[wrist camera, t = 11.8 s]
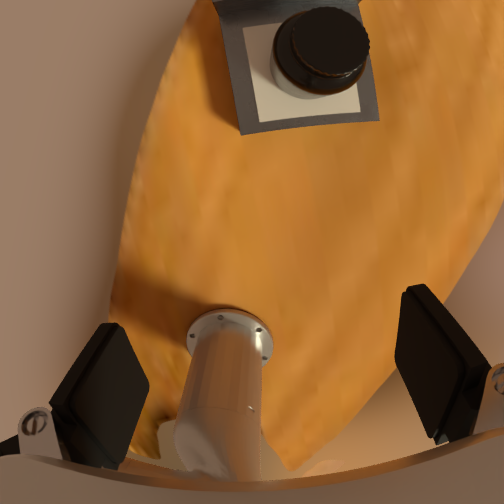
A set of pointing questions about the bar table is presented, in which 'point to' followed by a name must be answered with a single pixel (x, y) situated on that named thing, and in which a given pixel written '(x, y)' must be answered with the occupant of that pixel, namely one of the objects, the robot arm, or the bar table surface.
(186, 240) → the bar table surface
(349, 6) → the shelf block
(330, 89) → the supplement bottle
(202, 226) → the bar table surface
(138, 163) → the bar table surface
